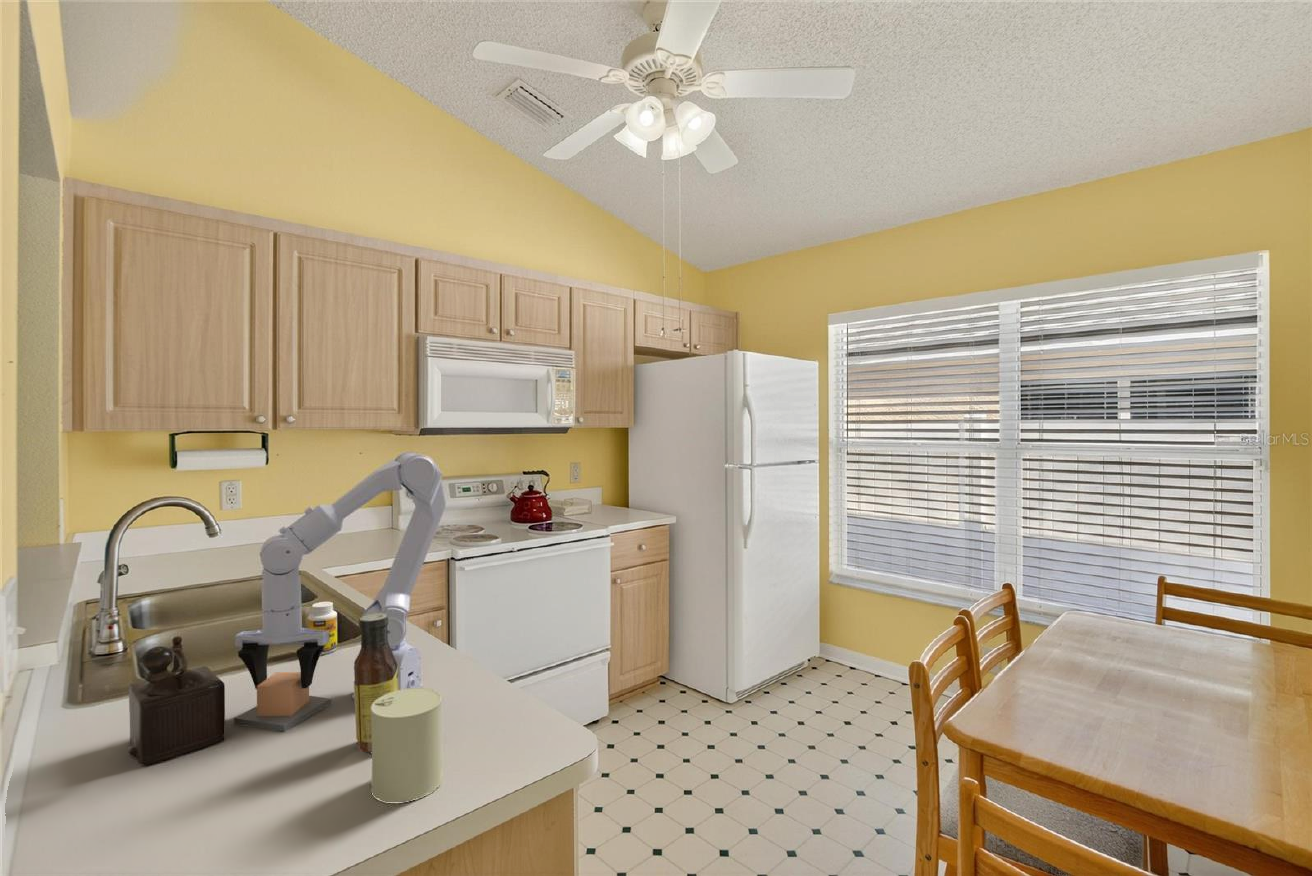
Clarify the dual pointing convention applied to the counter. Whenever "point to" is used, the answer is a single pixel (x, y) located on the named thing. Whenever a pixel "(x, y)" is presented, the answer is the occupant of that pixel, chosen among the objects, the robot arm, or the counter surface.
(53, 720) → the counter surface
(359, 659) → the sauce bottle
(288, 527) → the robot arm
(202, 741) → the dark brown boxy piece
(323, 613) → the supplement bottle
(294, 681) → the orange cube
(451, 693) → the counter surface
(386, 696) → the can
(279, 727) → the shaft base
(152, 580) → the counter surface
